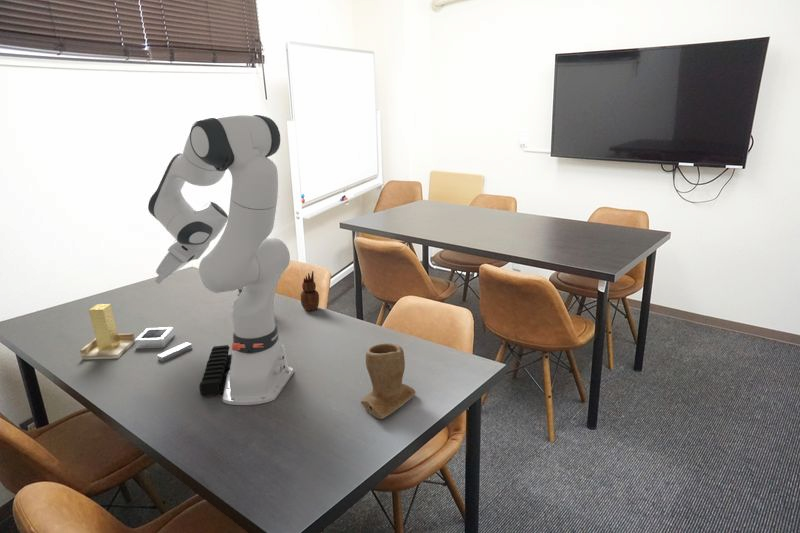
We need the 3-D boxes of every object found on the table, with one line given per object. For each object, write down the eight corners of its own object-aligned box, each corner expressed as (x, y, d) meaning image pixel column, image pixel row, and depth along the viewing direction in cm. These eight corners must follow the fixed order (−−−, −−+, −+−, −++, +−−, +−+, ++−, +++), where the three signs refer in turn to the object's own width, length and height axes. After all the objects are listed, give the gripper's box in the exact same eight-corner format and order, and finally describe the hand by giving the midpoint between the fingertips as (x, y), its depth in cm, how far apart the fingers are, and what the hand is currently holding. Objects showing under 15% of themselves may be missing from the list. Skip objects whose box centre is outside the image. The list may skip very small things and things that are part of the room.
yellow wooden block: (112, 350, 154) (103, 309, 149) (98, 350, 153) (88, 309, 149) (119, 343, 158) (110, 303, 153) (106, 343, 158) (96, 304, 153)
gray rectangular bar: (187, 347, 157) (186, 342, 157) (192, 349, 156) (191, 344, 156) (158, 360, 150) (157, 355, 149) (163, 363, 148) (162, 357, 148)
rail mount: (210, 361, 148) (208, 347, 147) (232, 359, 150) (230, 344, 148) (197, 401, 129) (194, 385, 127) (223, 398, 130) (220, 381, 128)
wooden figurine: (321, 306, 186) (318, 269, 182) (317, 312, 181) (314, 274, 176) (304, 305, 187) (301, 269, 182) (299, 312, 182) (296, 274, 177)
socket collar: (163, 347, 157) (162, 339, 156) (136, 348, 157) (134, 340, 156) (174, 335, 165) (173, 327, 164) (148, 336, 165) (147, 328, 164)
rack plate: (118, 358, 151) (116, 349, 150) (82, 359, 151) (80, 350, 150) (135, 341, 161) (133, 333, 160) (101, 342, 161) (99, 334, 160)
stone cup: (387, 381, 135) (386, 333, 130) (421, 396, 128) (421, 346, 123) (348, 407, 124) (345, 355, 119) (383, 425, 117) (381, 370, 112)
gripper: (193, 232, 162) (169, 262, 164) (167, 247, 142) (140, 281, 145) (209, 244, 163) (185, 274, 166) (185, 261, 143) (158, 294, 146)
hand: (164, 277), depth 155 cm, fingers open, 8 cm apart
